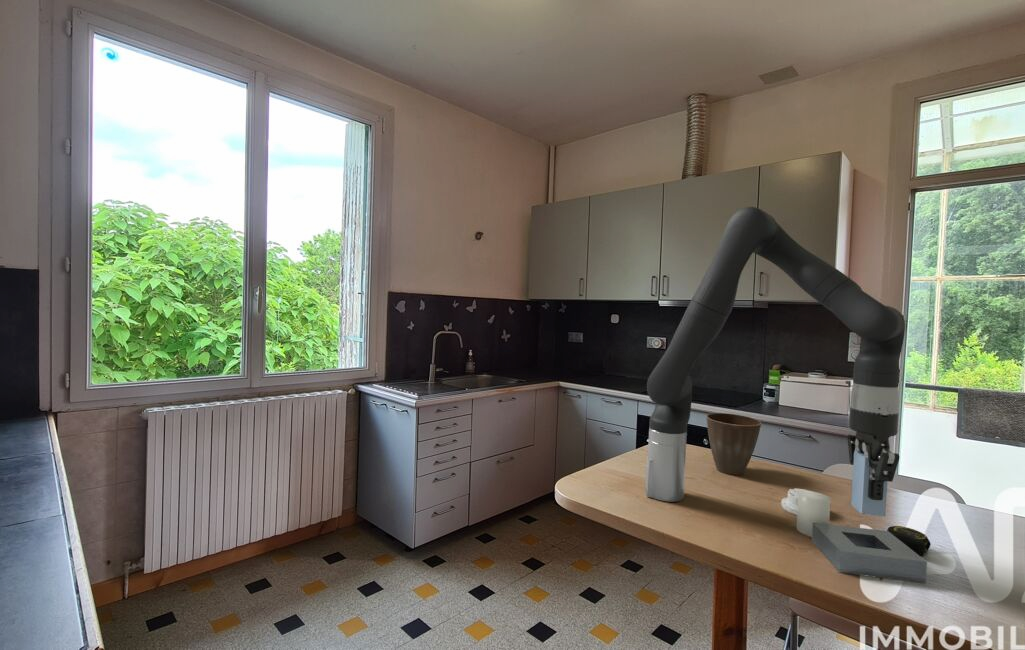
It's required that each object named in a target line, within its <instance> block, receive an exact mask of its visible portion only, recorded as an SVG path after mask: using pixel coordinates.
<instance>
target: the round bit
mask: <svg viewBox="0 0 1025 650" xmlns="http://www.w3.org/2000/svg"><path fill="white" fill-rule="evenodd" d="M831 500H832V499H831V497H829V496H827V495H826V494H823V493H820V492H816V491H812V490H808V491H800V492H799V493H798V509H797V515H796V526H795V527H796V530H797V531H798V532H799V533H801V534H803V535H805V536H808V537H811V538H812V530H813V523H821V524H830V517H831Z"/></svg>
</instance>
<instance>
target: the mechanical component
mask: <svg viewBox="0 0 1025 650" xmlns="http://www.w3.org/2000/svg"><path fill="white" fill-rule="evenodd" d="M800 491H809V489H808V490H807V489H805V488H802V489H801V488H797V487H795V488H793V489H792V488H790V489H789V490H788V491H787V497H783V498H782V499H781V502H780V503H781V508H782V509H783V510H785V511H786V512H788V513H790V514H792V515H796V516H797V509H798V493H799V492H800Z"/></svg>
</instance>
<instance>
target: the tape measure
mask: <svg viewBox="0 0 1025 650" xmlns="http://www.w3.org/2000/svg"><path fill="white" fill-rule="evenodd" d="M886 531H889V532H890V533H891V534H892V535H894V536H895V537H896V538H898V539H899V540H900V541H901V542H903V543H904V544H905V545H906V546H908V547H909V548H910V549H911V550H913V551H914V552H915V553H916V554H918V555H919V556H920V557H922V558H923V557H924V556H925V554H927V553H928V551H929V549H930V548H931V541H930V540H929V538H928V536H927V535H926V534H924V533H923V532H922V531H919V530H917V529H914V528H910V527H906V526H901V525H892V526H889V527H888V528H887V529H886Z"/></svg>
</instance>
